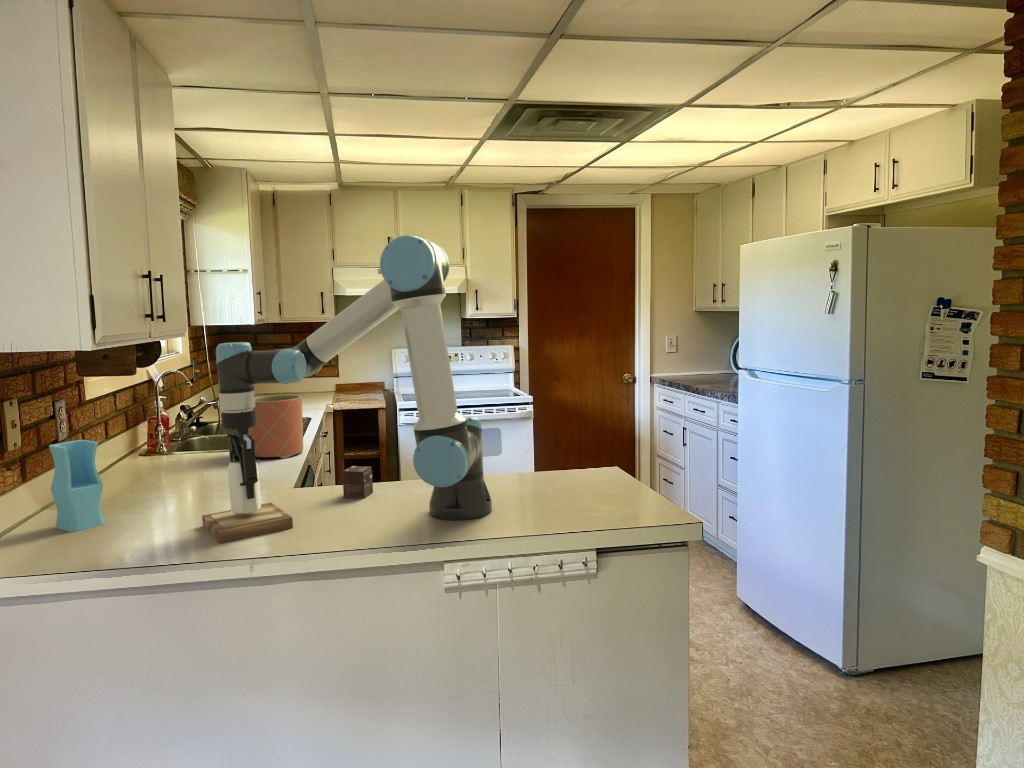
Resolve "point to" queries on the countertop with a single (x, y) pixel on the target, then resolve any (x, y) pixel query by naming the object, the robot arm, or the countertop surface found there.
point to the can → (239, 488)
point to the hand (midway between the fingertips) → (246, 508)
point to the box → (357, 482)
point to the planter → (278, 426)
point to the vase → (76, 485)
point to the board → (246, 523)
